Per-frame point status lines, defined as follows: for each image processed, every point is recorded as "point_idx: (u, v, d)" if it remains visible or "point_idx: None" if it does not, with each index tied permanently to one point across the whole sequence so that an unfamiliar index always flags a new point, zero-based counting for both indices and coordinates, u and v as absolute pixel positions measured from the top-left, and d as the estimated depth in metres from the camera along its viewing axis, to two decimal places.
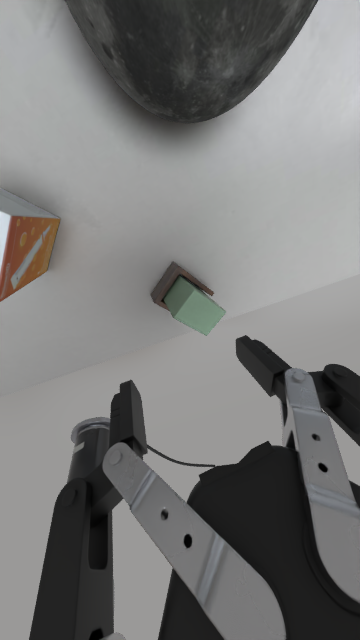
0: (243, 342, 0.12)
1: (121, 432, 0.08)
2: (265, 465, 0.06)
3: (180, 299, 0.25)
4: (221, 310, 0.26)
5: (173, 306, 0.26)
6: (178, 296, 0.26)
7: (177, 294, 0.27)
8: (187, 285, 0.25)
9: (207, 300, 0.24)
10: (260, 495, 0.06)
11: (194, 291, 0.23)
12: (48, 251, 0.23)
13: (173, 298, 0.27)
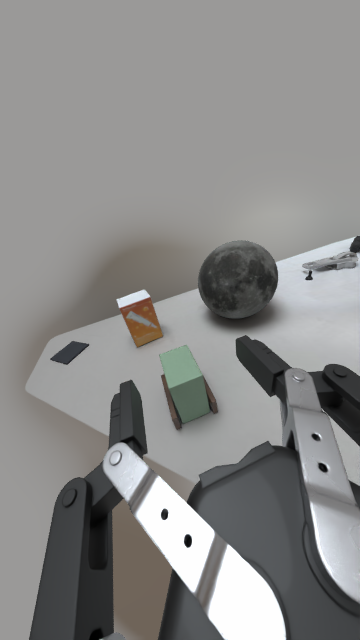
0: (243, 342, 0.12)
1: (121, 432, 0.08)
2: (265, 465, 0.06)
3: None
4: (198, 370, 0.24)
5: None
6: None
7: None
8: None
9: (191, 355, 0.27)
10: (260, 495, 0.06)
11: (185, 345, 0.29)
12: (146, 337, 0.47)
13: None
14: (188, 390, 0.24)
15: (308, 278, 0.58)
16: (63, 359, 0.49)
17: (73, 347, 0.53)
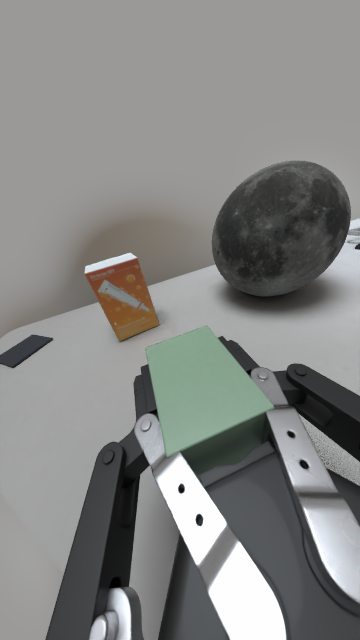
0: None
1: (147, 405, 0.09)
2: (265, 465, 0.06)
3: None
4: (255, 389, 0.08)
5: None
6: None
7: None
8: None
9: (222, 348, 0.11)
10: (260, 495, 0.06)
11: (205, 327, 0.13)
12: (134, 326, 0.31)
13: None
14: (226, 451, 0.08)
15: None
16: (9, 361, 0.33)
17: (30, 343, 0.37)
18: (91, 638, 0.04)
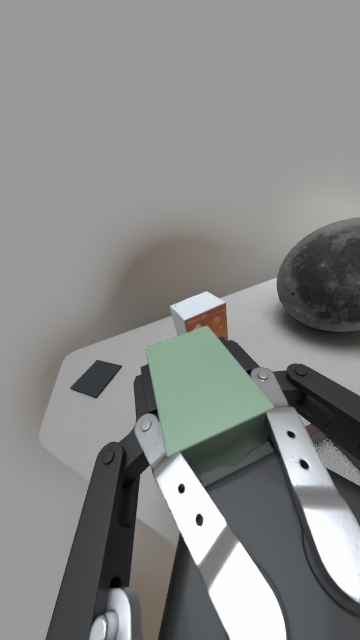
0: None
1: (147, 405, 0.09)
2: (265, 465, 0.06)
3: None
4: (255, 389, 0.08)
5: None
6: None
7: None
8: None
9: (222, 348, 0.11)
10: (260, 495, 0.06)
11: (205, 327, 0.13)
12: None
13: None
14: (226, 451, 0.08)
15: None
16: (89, 390, 0.35)
17: (100, 370, 0.39)
18: (91, 638, 0.04)
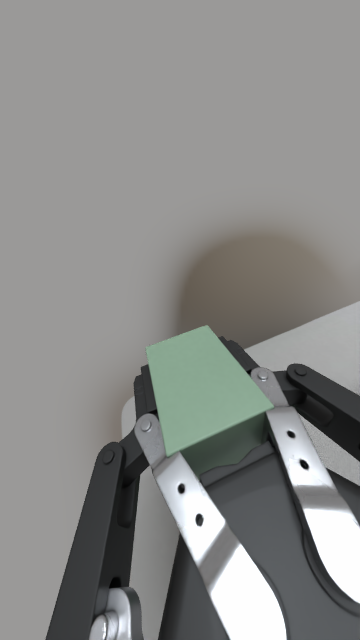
0: None
1: (147, 405, 0.09)
2: (265, 465, 0.06)
3: None
4: (255, 389, 0.08)
5: None
6: None
7: None
8: None
9: (222, 347, 0.11)
10: (260, 495, 0.06)
11: (205, 326, 0.13)
12: None
13: None
14: (225, 450, 0.08)
15: None
16: None
17: None
18: (91, 638, 0.04)
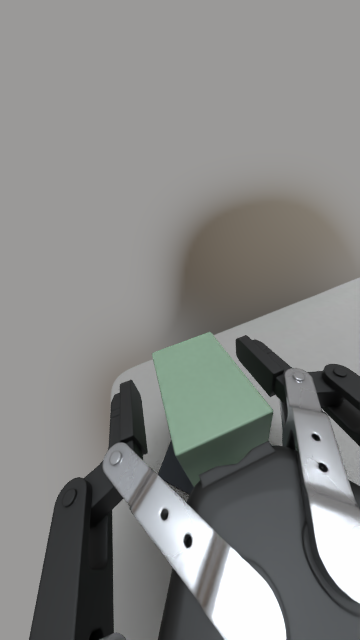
0: (243, 342, 0.12)
1: (121, 432, 0.08)
2: (265, 465, 0.06)
3: None
4: (255, 394, 0.09)
5: None
6: None
7: None
8: None
9: (225, 354, 0.11)
10: (260, 495, 0.06)
11: (208, 333, 0.14)
12: None
13: None
14: (228, 451, 0.09)
15: None
16: None
17: None
18: None
